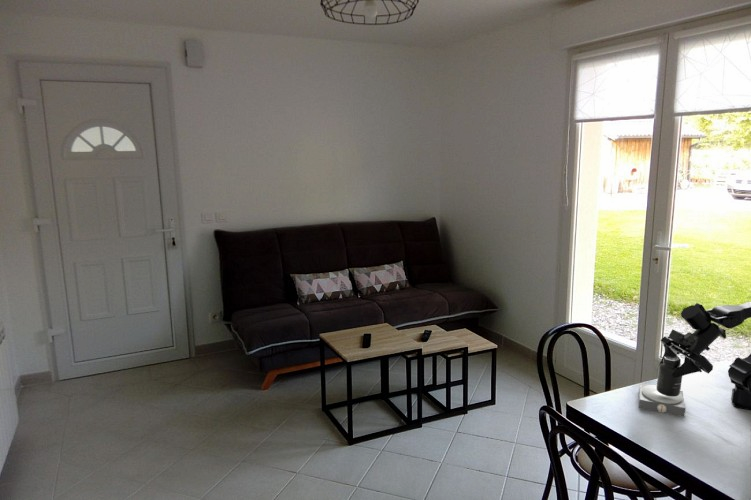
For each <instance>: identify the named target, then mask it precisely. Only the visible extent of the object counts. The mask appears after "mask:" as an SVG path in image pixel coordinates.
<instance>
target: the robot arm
mask: <svg viewBox="0 0 751 500" xmlns="http://www.w3.org/2000/svg"><path fill="white" fill-rule="evenodd" d="M680 317H681V318H683V320H684V321H685V322H686V323H687V324H688V325H689V326H690V328H692V330H694V332H692V333H691V332H690V331H689V332H687V333H685V334H684V333H682V332H680V331H677V330H675V329H674V328H672V330H670V334H669V335H668V336H663V337H662V338H661V339H660V340H659V341H660V342H661V343H662V344H663V347H664V353H663V356H662V358H661V360H660V362H659V364H658V367H659V366H660V364H662V363H663V360H664V356H666V355H671V356H676V357H678V358H680V357H679V356H678V355H682V356H684V360H683V363H681V364H680V367H679V368H678V370H677V371H676V372H675V373H674V374H673V377H674V378H677V377H680V376H682V377H683V376H687V375H690V374H691V375H692V374H694V373H702V372H704V373H707V374H710V373H711V372H712V371H713V369H714V364H712V363H711V362H710V360H709V359H707V358H706V356H704V355H703V354H702V353H704V351H707V352H709V351H710V350H711V348H710V347H709V346H710V345H711V344H713V343H714V342H715V340H717V339H718V338H719V337H720V338H722V339H723V340H725V339H727V334H726V332H727V330H726V329H730V330H731V329H733V328H735V327H737V326H740V325H742V324H744V322H745V320H747V319H748V320H749V319H750V318H751V301H748V302H747V301H746V302H744V303H741V304H738V305H737V304H734V305H733V304H724V305H716V306H714V307H713V308H711V309H710V308H709V309H705V307H704V305H702V304H701V303H699V302H696V304H692V305H689V306H687V307H685V308H684V307H683V310H682V311H681V313H680ZM720 326H722V327H723V328H722V327H720ZM724 328H726V329H724ZM728 366H729V369H727V373H728V375H727V376H728V378H729V379H730V383H731V384H733V385H734V387H733V388H732V390H731V394H730V395H731V396H730V400H731V403H732V405H733V407H734V408H739V409H744V410H750V411H751V353H750V354H749V355H748V356H747V357H746V356H745V357H744V358H741V357H739V356H738V357H736V358H735V359H734V361H733V362H732V363H731V364H730V365H728Z"/></svg>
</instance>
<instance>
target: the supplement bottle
mask: <svg viewBox="0 0 751 500" xmlns="http://www.w3.org/2000/svg"><path fill="white" fill-rule="evenodd" d="M663 356H664V355H663ZM678 357H679V356H678ZM678 357H676V356H671V355H666V356H664V360H663V363H662V364H660V363H659V364H660V366H659V365H658V370H657V371H658V372H657V381H656V385H657V391H658V392H659V393H661V394H663V395H666V396H672V397H675V396H678V395H679V394H680V391H682V390H681V389H682V381H683V376H680V377H677V378H674V377H673V374H674V373H675V372H676V371H677V370H678V368H679V367H680V366H681V365H682V363H681V362H682V361H681V358H680V357H679V358H678Z"/></svg>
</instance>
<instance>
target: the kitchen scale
mask: <svg viewBox="0 0 751 500" xmlns="http://www.w3.org/2000/svg"><path fill="white" fill-rule="evenodd" d="M638 390H639V391H638V408H639V409H643V410H648V411H653V412H657V413H658V412H659V413H662V414H668V415H673V416H678V417H683V418H685V414H686V413H685V412H686V404H685V397H684V392H683V390H680V394H679V395H678V396H675V397H672V396H666V395H663V394H661V393H659V392H658V391H657V384H644V383H639V389H638Z"/></svg>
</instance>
